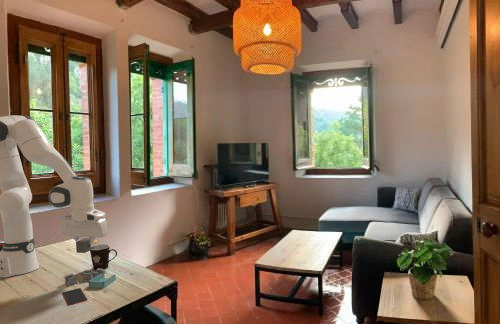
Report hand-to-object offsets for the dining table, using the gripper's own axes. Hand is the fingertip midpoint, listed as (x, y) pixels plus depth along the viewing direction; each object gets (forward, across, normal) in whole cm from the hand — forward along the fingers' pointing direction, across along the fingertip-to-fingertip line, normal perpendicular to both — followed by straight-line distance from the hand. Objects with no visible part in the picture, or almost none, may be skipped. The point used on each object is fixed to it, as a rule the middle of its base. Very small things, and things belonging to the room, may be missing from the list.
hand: (85, 246), depth 149 cm
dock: (+14, +9, -3) cm, 17 cm away
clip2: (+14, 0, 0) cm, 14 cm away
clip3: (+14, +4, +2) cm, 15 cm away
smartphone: (+15, +6, -16) cm, 23 cm away
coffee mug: (+14, -1, +12) cm, 19 cm away
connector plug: (+2, 0, +2) cm, 3 cm away
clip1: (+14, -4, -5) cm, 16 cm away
